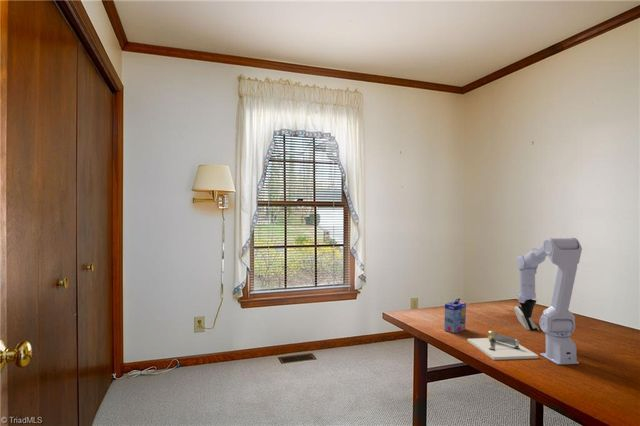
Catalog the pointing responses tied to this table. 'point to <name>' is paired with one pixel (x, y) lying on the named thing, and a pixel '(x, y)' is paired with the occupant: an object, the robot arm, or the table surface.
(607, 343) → the table surface
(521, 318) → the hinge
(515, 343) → the divider leg
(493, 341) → the divider fixed leg
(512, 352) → the plate
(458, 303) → the ink cartridge box
